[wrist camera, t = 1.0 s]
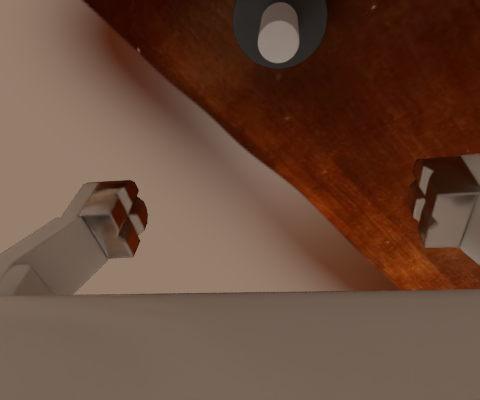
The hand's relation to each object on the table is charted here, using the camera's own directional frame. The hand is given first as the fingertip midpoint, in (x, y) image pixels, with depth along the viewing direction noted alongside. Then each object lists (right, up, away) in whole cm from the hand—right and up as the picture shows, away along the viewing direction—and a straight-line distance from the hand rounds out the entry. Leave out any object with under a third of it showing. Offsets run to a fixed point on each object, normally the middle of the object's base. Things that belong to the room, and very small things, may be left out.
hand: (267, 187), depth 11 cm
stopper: (+2, +11, +11) cm, 16 cm away
